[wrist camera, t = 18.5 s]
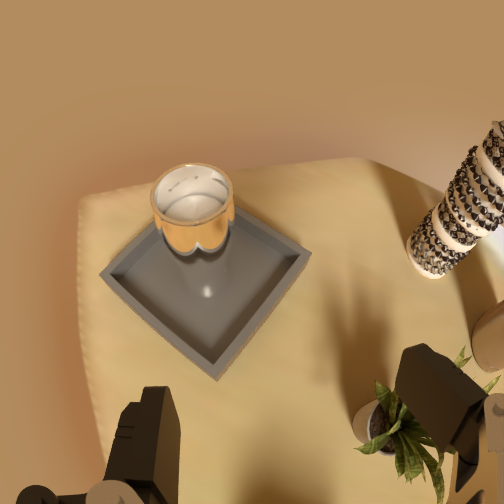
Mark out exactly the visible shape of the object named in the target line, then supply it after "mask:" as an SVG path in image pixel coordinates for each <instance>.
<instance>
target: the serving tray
mask: <svg viewBox="0 0 504 504" xmlns="http://www.w3.org/2000/svg"><path fill="white" fill-rule="evenodd" d="M234 207H235V232H234V238H233V242H232V246H231V249H230V252H229V255H228V258H227V263H228V265H229V268H230V281H229V284H228V286H227V287H226V289H225V290H224V291H223V292H222V293H220V294H219V295H217V296H215V297H212V298H207V299H202V298H197V297H194V296H192V295H190V294H189V293H188V292H186V290H185V289H184V288H183V286H182V284H181V281H180V269H179V267H178V266H177V265H176V263H175V262H174V261H173V260H172V258H171V257H170V256H169V254H168V253H167V251H166V249H165V248H164V246H163V244H162V241H161V239H160V237H159V234H158V231H157V227H156V223H155V220H154V221H153V222H152V223H151V224H150V225H149V226H148V227H147V228H146V229H145V230H144V231H143V232H141V233H140V234H139V235H138V236H137V237H136V238H135V239H134V240H133V241H132V242H131V243H130V244H129V245H128V246H127V247H126V248H125V249H124V250H123V251H122V252H121V253H120V254H119V255H118V256H117V257H116V258H115V259H114V260H113V261H112V262H111V263H110V264H109V265H108V266H107V267H106V268H105V269H104V270H103V271H102V272H101V273H100V274H99V276H100V277H101V278H102V279H103V280H104V282H105V283H106V284H107V285H108V286H109V287H110V288H111V289H112V290H113V291H114V292H115V293H116V294H117V295H118V296H119V297H120V298H121V299H122V300H123V301H124V302H125V303H126V304H127V305H128V306H129V307H130V308H131V309H132V310H133V311H134V312H135V313H136V314H137V315H138V316H139V317H141V318H142V319H143V320H144V321H145V322H146V323H147V324H148V325H149V326H150V327H151V328H153V329H154V330H155V331H156V332H157V333H158V334H159V335H160V336H162V337H163V338H164V339H165V340H166V341H167V342H168V343H170V344H171V345H172V346H173V347H174V348H176V349H177V350H178V351H179V352H180V353H181V354H183V355H184V356H185V357H186V358H188V359H189V360H190V361H191V362H192V363H194V364H195V365H196V366H197V367H199V368H200V369H201V370H202V371H204V372H205V373H206V374H208V375H209V376H210V377H211V378H213V379H214V380H215V381H218V380H219V379H220V378H221V376H222V375H223V374H224V373H225V371H226V370H227V369H228V368H229V366H230V365H231V364H232V363H233V362H234V360H235V359H236V358H237V357H238V355H239V354H240V353H241V352H242V350H243V349H244V348H245V346H246V345H247V344H248V343H249V341H250V340H251V339H252V338H253V336H254V335H255V334H256V332H257V331H258V330H259V329H260V327H261V326H262V325H263V323H264V322H265V321H266V319H267V318H268V317H269V315H270V314H271V313H272V312H273V310H274V309H275V308H276V306H277V305H278V304H279V302H280V301H281V300H282V298H283V297H284V296H285V294H286V293H287V292H288V290H289V289H290V287H291V286H292V285H293V283H294V282H295V281H296V279H297V278H298V277H299V275H300V274H301V272H302V271H303V270H304V268H305V267H306V265H307V263H308V260H309V258H310V256H311V254H312V253H311V252H309V251H308V250H306V249H305V248H303V247H302V246H300V245H298V244H297V243H295V242H294V241H292V240H291V239H289V238H288V237H286V236H284V235H283V234H281V233H280V232H278V231H276V230H275V229H273V228H272V227H270V226H269V225H267V224H265V223H264V222H262V221H261V220H259V219H257V218H256V217H254V216H252V215H251V214H249V213H248V212H246V211H244V210H243V209H241V208H240V207H238V206H236V205H235V204H234Z"/></svg>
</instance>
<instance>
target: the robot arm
mask: <svg viewBox="0 0 504 504" xmlns="http://www.w3.org/2000/svg"><path fill="white" fill-rule="evenodd" d="M472 348H473V353H474V356H475V359H476V361H477V363H478V364H479V366H480V367H481V368H482V369H483V370H485V371H486V372H495V371H498V370H501V369H503V368H504V300H503V301H501V302H500V303H498V304H497V305H495V306H493V307H492V308H490V309H489V310H487V311H485V312H484V315H483V317H482V318H481V319H479V320H478V322H477V323H476V325H475V327H474V330H473V334H472ZM456 366H457V365H455V364H454V363H453V362H452V361H451V360H450V359H449V358H447V357H445V356H443V355H441V354H439V353H437V352H436V353H435V352H434V351H433V350H432V349H431V348H430V347H429V346H428V345H426V344H424V343H421V344H418V345H415V346H412V347H408V348H406V349H404V351H403V353H402V357H401V361H400V365H399V369H398V373H397V377H396V381H395V388H396V392H397V395H398V396H399V398H400V399H401V400H402V401H403V403H404V404H405V405H406V407H407V408H408V409H409V410H410V412H411V413H412V414H413V416H414V417H415V418H416V419H417V421H418V422H419V423H420V425H421V426H422V427H423V429H424V430H425V431H426V433H427V434H428V435H429V436H430V438H431V439H432V440H433V442H434V443H435V444H436V446H437V447H438V448H439V450H440V451H441V452H442V454H443V453H445V452H447V451H448V450H450V449H452V448H455V450H456V452H455V453H454V456H453V466H452V475H451V484H450V491H449V497H448V500H447V503H446V504H504V394H502V393H495V394H491V395H488V394H487V393H486V392H485V391H484V390H483V389H482V388H481V387H480V386H479V385H477V384H476V383H475V382H474V381H473V380H472V379H471V378H470V377H469V376H468V375H467V374H465V373H463V371H462V370H461V369H460V368H459V367H456ZM180 437H181V431H180V422H179V418H178V415H177V412H176V408H175V405H174V402H173V399H172V395H171V392H170V389H169V387H168V386H153V387H144V389H143V393H142V397H141V401H140V402H130V403H129V404H128V406H127V407H126V408H125V409H124V410H123V411H122V413H121V415H120V419H119V422H118V428H117V430H116V433H115V438H114V441H113V444H112V448H111V452H110V456H109V460H108V464H107V468H106V472H105V476H104V479H103V481H102V482H99V483H97V484H96V485H94V486H93V487H92V488H91V489H90V490H89V491H88V493H85V494H79V495H65V496H56V495H55V494H54V493H53V492H52V491H51V490H50V489H48V488H46V487H44V486H40V485H32V486H29V487H26V488H25V489H23V490H22V491H21V493H20V494H19V496H18V498H17V501H16V504H178V481H179V456H180Z"/></svg>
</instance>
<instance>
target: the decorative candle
mask: <svg viewBox="0 0 504 504" xmlns="http://www.w3.org/2000/svg"><path fill="white" fill-rule="evenodd" d="M473 152H474V153H475V157H474V156H473V155H472V154H473ZM466 165H468V166H467V167H466ZM456 173H457V175H455V177H454V179H453V181H451V182H450V184H449V187H448V188H447V190H446V192H445V193H446V196H445V198H444V199H443V200H442V201H440V202H439V203H438V205H437V206H436V207H434V208H433V209H431V210H430V211H429V214H428V215H427V216H425V217H424V221H423V222H421V223H419V225H418V227H417V228H416V229H415V230H414V231H413V234H412V235H411V236H410V237H409V239H408V240H407V245H406V250H407V255H408V258H409V260H410V262H411V264H412V265H413V267H414V268H415V269H416V270H417V271H418V272H419V273H420V274H421V275H423V276H425V277H427V278H429V279H439V278H441V277H442V276H444V275H445V274H447V270H448V269H449V270H451V269H453V264H454V265H457V263H459V262H460V260H462V259H464V257H466V255H467V254H469V253H470V250H471V249H472V248H473V247H474V246H475V245H476V243H477V241H478V240H479V239H480V238H481V237H485V236H487V235H489V234H490V233H491V231H495V230H496V228H497V227H498V224H502V223H503V221H504V120H503V121H500V122H497V121H492V129H491V130H490V131H489V133H488V135H487V137H486V139H485V140H482V142H481V143H480V145H479V146H473V148H471V149H469V154H468V155H467V158H466V159H465V161H463V162H462V167H461V169H458V170H457V172H456ZM460 174H461V175H462V176H460Z"/></svg>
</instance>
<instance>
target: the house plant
mask: <svg viewBox="0 0 504 504" xmlns="http://www.w3.org/2000/svg"><path fill="white" fill-rule="evenodd" d="M464 351H465V347H464V348H463V349H462V351H461V353H460V354H459V356H458V357H457V359H456V360H455V362H454V364H455V365H457V366H456V367H459V368H461V367H463V366H464V365H465V364H466V363H467V362H468V361H469V359H470V358H471V357H472V356H471V357H469V358H466V359H464V360H463V358H464ZM500 376H501V375H500ZM500 376H498V377H497V378H496V379H494V380H493V381H492V382H490V383H489V384H488V385H487V386H486V387H484V388H483V390H484V391H485V392H486V393H487V394H488V392H489V391H490V390H491V389H492V388H493V387H494V385H495V384H496V383H497V381H498V379H499V377H500ZM474 378H475V377H474ZM474 378H473V380H474ZM375 382H376V390H375V392H376V397H377V399H376V400H374V401H372V402H370V403H368V404H366V405H365V406H363V407H361V408H360V409H359V410H358V411H357V413H356V414H355V416H354V419H353V423H352V428H353V432H354V434H355V436H356V438H357V439H358V440H359V441H360V442H362V443H364V444H365V445H363V446H361V447H359V448H354V449H357V450H359V451H360V452H362V453H363V454H373V453H375V452H378V453H380V454H382V455H385V456H395V465H396V469H397V472H398V478H399V477H400V476H401V475H402V474H405V478H406V482H408V481H410V482H411V481H412V479H413V478H415V477H416V476H418V475H419V474H420V473H422V475H423V478H424V480H425V472H424V466H423V461H424V462H425V464H426V466H427V468H428V469H429V472H430V474H431V477H432V481H433V485H434V488H435V491H436V494H437V504H442V502H443V497H444V480H443V475H442V472H441V469H440V467H441V465H442V463H443V460H444V453H443V454H442V452H441V451H440V450H439V448H438V447H437V446H436V444H435V443H434V442H433V440H431V439H430V436H429V435H428V434H427V433H426V431H425V430H424V429H423V427H422V426H421V425H420V423H419V422H418V421H417V419H416V418H415V417H414V416H413V414H412V413H411V412H410V410H409V409H408V408H407V407H406V405H405V404H404V403H403V401H402V400H401V399H400V398H399V396H398V395H397V392H396V388H394V390H393V392H391V391H390V389H389V388H388V387H386V386H384V385H382V384H380V383H379V382H377V381H376V380H375ZM422 437H425V438H422ZM428 437H429V438H428ZM426 438H427V439H426ZM420 443H421V444H424V445H427V446H431V447H435V448H436V449H437V452H438V456H439V462H438V463H437V461H436V460H435V459H434V458H433V457H432V456H431V455H430V454H429V453H428V452H427V450H426V449H425V448H424V447H423V446H422V445H421V444H420ZM447 452H448V453H450V454H453V455H454V453H455V452H456V450H455V448H452V449H450V450H448V451H447ZM422 459H423V460H422ZM406 482H405V483H406Z"/></svg>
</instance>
